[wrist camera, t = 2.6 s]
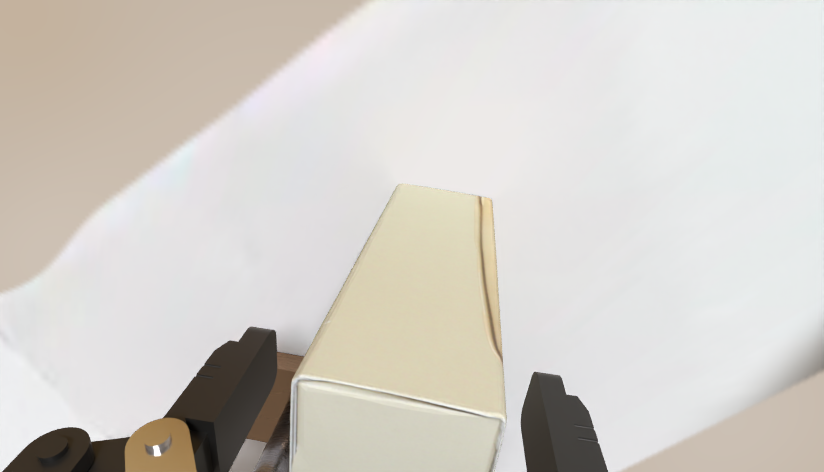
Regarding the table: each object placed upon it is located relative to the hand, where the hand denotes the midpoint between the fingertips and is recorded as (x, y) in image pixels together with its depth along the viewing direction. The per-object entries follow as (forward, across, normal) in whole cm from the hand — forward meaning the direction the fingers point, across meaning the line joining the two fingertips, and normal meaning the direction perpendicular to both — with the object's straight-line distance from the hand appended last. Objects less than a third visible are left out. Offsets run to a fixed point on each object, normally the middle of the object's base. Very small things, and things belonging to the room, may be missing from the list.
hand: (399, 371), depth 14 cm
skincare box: (+8, 0, 0) cm, 8 cm away
